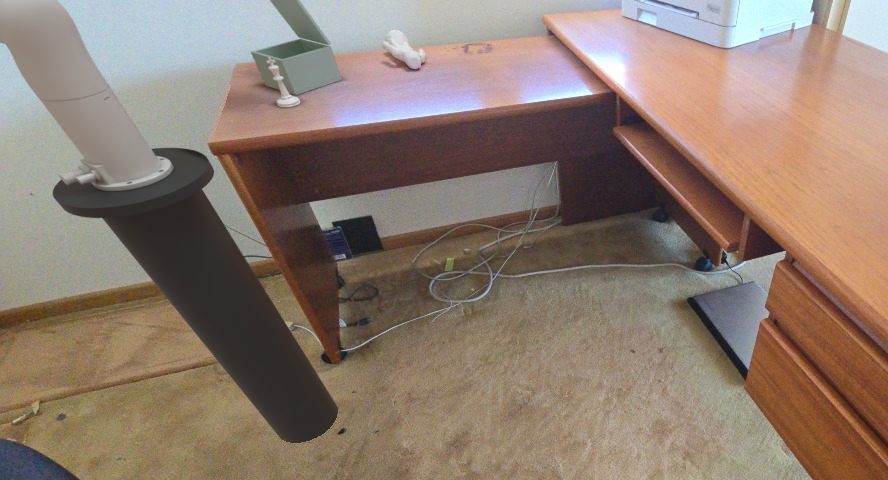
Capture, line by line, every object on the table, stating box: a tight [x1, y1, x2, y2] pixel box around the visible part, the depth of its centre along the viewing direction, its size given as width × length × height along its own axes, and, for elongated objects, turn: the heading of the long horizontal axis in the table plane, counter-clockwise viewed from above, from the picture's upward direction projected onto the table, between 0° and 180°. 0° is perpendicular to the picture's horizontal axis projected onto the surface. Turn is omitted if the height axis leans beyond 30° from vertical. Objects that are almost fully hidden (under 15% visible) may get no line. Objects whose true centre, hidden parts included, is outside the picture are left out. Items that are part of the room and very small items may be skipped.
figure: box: [381, 29, 426, 70], centre depth 145 cm, size 11×6×20 cm
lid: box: [269, 0, 332, 46], centre depth 125 cm, size 14×12×5 cm
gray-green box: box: [250, 38, 343, 96], centre depth 130 cm, size 14×12×8 cm
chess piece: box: [266, 57, 301, 108], centre depth 119 cm, size 5×5×10 cm
